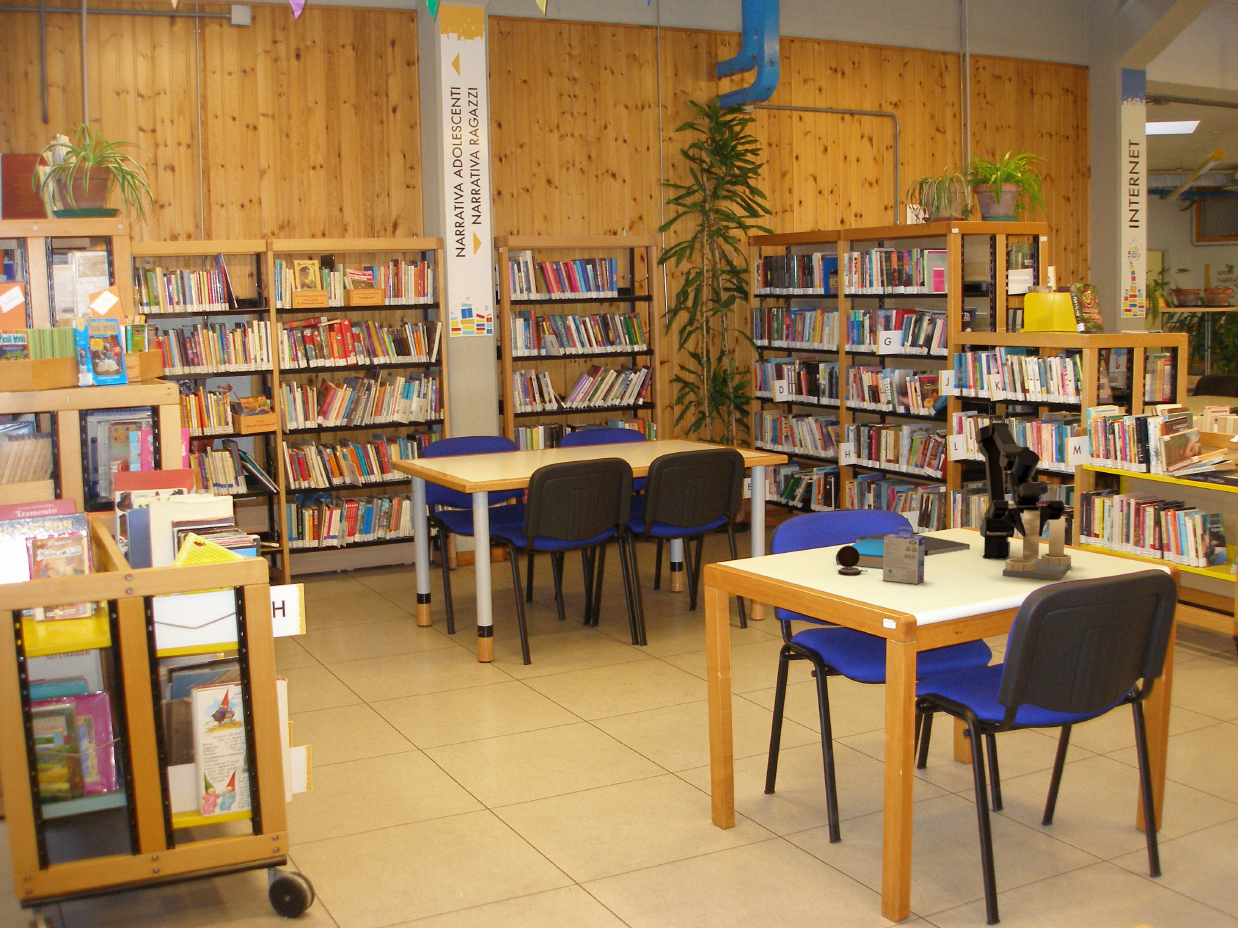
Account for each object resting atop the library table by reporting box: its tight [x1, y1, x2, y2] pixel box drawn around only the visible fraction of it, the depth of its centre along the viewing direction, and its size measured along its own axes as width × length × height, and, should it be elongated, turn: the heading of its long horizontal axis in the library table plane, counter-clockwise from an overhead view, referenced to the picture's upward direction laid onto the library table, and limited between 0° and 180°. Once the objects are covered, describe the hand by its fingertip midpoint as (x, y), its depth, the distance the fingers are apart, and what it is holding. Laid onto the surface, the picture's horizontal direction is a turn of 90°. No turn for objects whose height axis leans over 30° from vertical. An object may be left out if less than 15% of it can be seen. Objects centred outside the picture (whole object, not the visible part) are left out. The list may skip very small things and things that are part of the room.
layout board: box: [1002, 515, 1072, 582], centre depth 325 cm, size 15×22×14 cm
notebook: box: [855, 531, 971, 557], centre depth 365 cm, size 22×2×28 cm
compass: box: [836, 544, 869, 576], centre depth 325 cm, size 8×8×7 cm
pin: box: [1022, 510, 1040, 561], centre depth 312 cm, size 4×4×13 cm
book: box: [835, 538, 884, 570], centre depth 343 cm, size 17×4×25 cm
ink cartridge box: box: [882, 525, 925, 585], centre depth 313 cm, size 10×6×14 cm, turn 58°
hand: (1032, 535), depth 311 cm, fingers closed on pin, 4 cm apart
